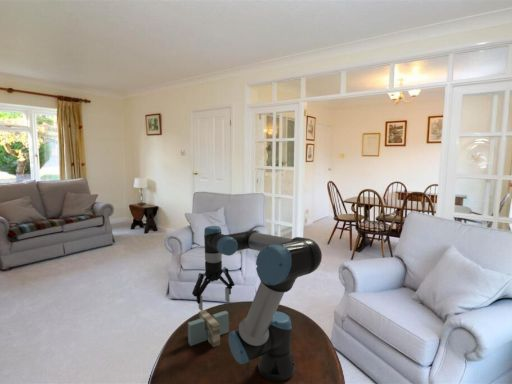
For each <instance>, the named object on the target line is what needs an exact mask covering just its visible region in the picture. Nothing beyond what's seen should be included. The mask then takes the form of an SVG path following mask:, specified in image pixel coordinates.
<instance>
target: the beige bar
mask: <svg viewBox="0 0 512 384" xmlns="http://www.w3.org/2000/svg"><path fill="white" fill-rule="evenodd" d="M201 318H203V319H204V321H205V328H206V329H207V330H208V340H207V341H208V343H209V344H210V345H211V346H212V348H215V347H218V346H220V345H221V335H220V324H219V323H218V322H217V321H216V320H215V319H214V318H213V315H211V314H210V313H209V312H208V311H207V310H206V309H203V311H201V310H200V311H198V319H201Z"/></svg>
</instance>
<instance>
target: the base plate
mask: <svg viewBox="0 0 512 384" xmlns="http://www.w3.org/2000/svg"><path fill="white" fill-rule="evenodd" d="M212 317H213V318H214V319H215V320H216V321H217V322H218V323H219V324H220V336H222V335H225V334H229V333H230V329H229V328H230V321H229V320H230V315H229V312H228V311H227V310H224V311H220V312H216V313H214V314H212ZM206 341H208V330H207V329H206V328H205V321H204V319H203V318H201V319H199V318H197V319H195V320H192V321H188V322H187V343H188V345H189V346H190V347H192V346H194V345H198V344H200V343H203V342H206Z"/></svg>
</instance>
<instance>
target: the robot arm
mask: <svg viewBox="0 0 512 384" xmlns="http://www.w3.org/2000/svg"><path fill="white" fill-rule="evenodd" d="M203 233H204V235H203V237H204V239H203V240H204V260H205V262H204V270H205V272H203V273H201V272H199V273H198V278H197V280H196V283H195V286H194V288H193V290H192V295H193V296H194V297H196V303H197V304H198V309H199V310H200V311H203V310H204V308H203V307H204V306H203V305H204V304H203V296H202V294H203V293H204V292H205V290H206V288H207V286H208V285H209V284H210V283H212V282H216V281H219V280H220V281H221V282H222V284H223V285H225V287H224V293H225V294H224V295H225V296H224V297H225V301H226V302H227V303H229V304H230V295H231V294H232V289H233V287H235V285H236V284H235V283H234V281H233V278H232V277H231V274H230V273H229V269H228V268H227V267H225V266H224V267H223V261H222V258H223V256H222V255H224V256H230V257H231V256H233V255H234V254H235V253H236V252H237V251H238V252H239V251H243V250H247V249H250V250H252V251H253V250H254V251H256V252H259V253H258V254H257V257H256V261H255V265H256V268H255V270H256V272H257V273H256V274H257V276H258V278H259V280H260V281H259V284H258V288H257V290H256V293H255V295H254V297H253V300H252V303H251V306H250V308H249V310H248V313H247V314H246V315H247V316H246V317H245V318H243V319H242V320H241V321H240V323H239V325H238V327H237V329H235V330H232V331H230V332H229V333H228V337H227V340H228V345H229V346H228V347H229V349H230V352H231V355H232V356H233V358H234V360H235V361H236V362H237V363H238V364H240V365H244V364H247V363H250V362H251V361H253V360H255V359H258V358H259V359H258V364H257V369H258V372H259V374H260V375H261V377H263V378H265V379H267V380H269V381H272V382H284V381H287V380H289V379H290V378H292V377H293V376H294V374H295V371H296V362H295V359H294V357H293V354H292V329H293V327H292V321H291V320H292V319H291V317H290V315H288V314H287V313H285V312H282V311H278V310H277V309H278V307H279V305H280V303H281V301H282V299H283V297H284V294H285V293H288V292H289V291H291V290H292V288H293V287H294V284H295V283H296V280H297V279H298V278H299V277H304V276H307V275H309V274H312V273H314V272H315V271H316V270H317V269H318V268H319V267H320V265H321V262H322V259H323V258H322V257H323V254H322V250H321V247H320V246H319V244H318V243H317V242H316V241H314V240H313V239H311V238H306V237H300V236H295V237H293V238H290V237H284V236H278V235H273V234H272V235H271V234H268V233H267V234H266V233H262V232H261V231H260V230H259V229H258V230H257V229H253V230H249V231H247V230H246V231H242V232H241V231H240V232H235V233H230V234H224V233H222V228H221V226H219V225H210V226H206V227H205V228H204V232H203ZM222 274H224V275H225V278H226V280H227V281H226V280H225V278H224V277H223V276H222ZM203 279H204V280H203Z"/></svg>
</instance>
